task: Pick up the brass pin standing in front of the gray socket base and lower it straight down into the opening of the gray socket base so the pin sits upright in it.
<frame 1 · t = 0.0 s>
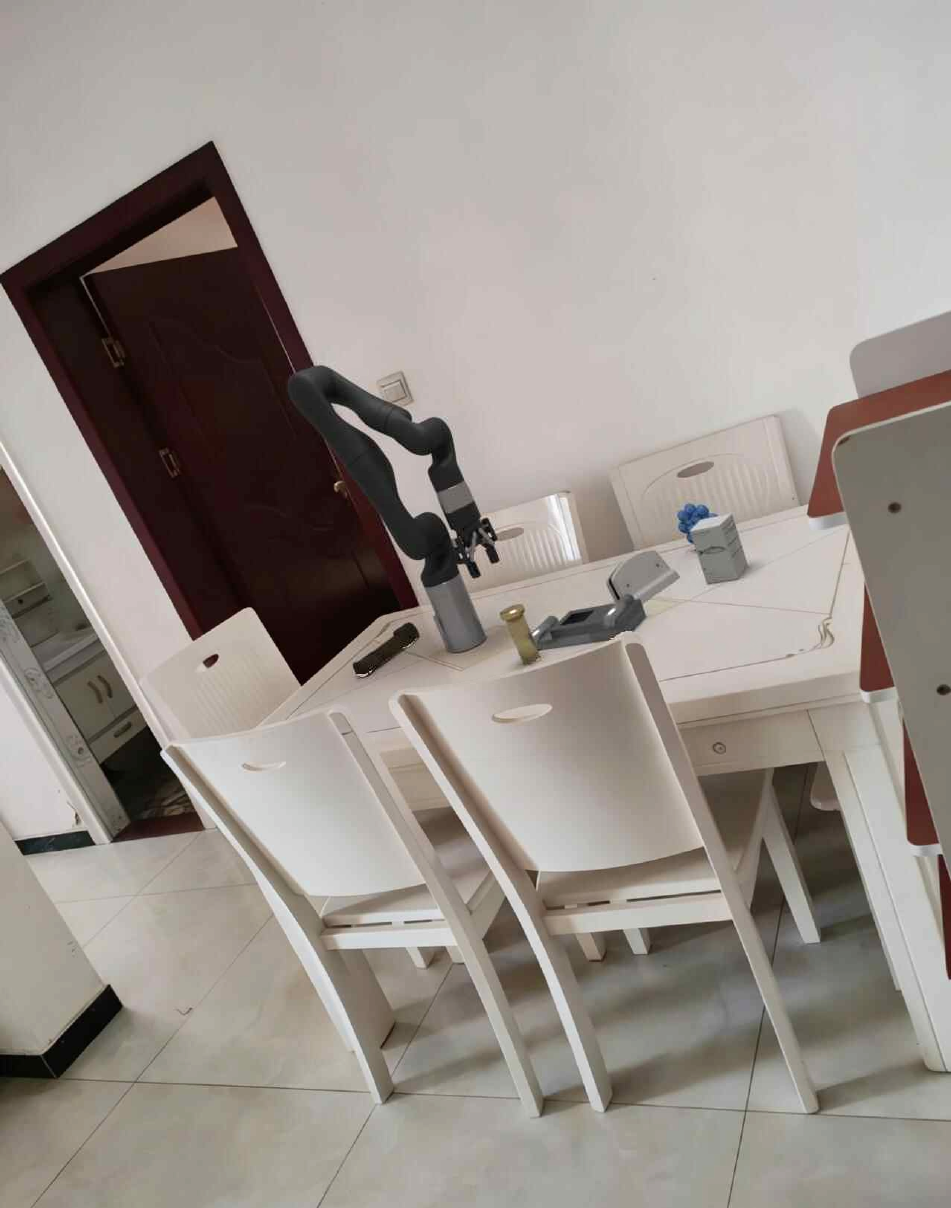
hand: (486, 570, 215), 17 cm above the table, fingers open, 8 cm apart
brass pin: (531, 660, 200), on the table
gray socket base: (583, 634, 203), on the table
supplement box: (728, 576, 203), on the table
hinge: (646, 594, 213), on the table
grapes: (706, 551, 225), on the table
hand tool: (391, 658, 244), on the table
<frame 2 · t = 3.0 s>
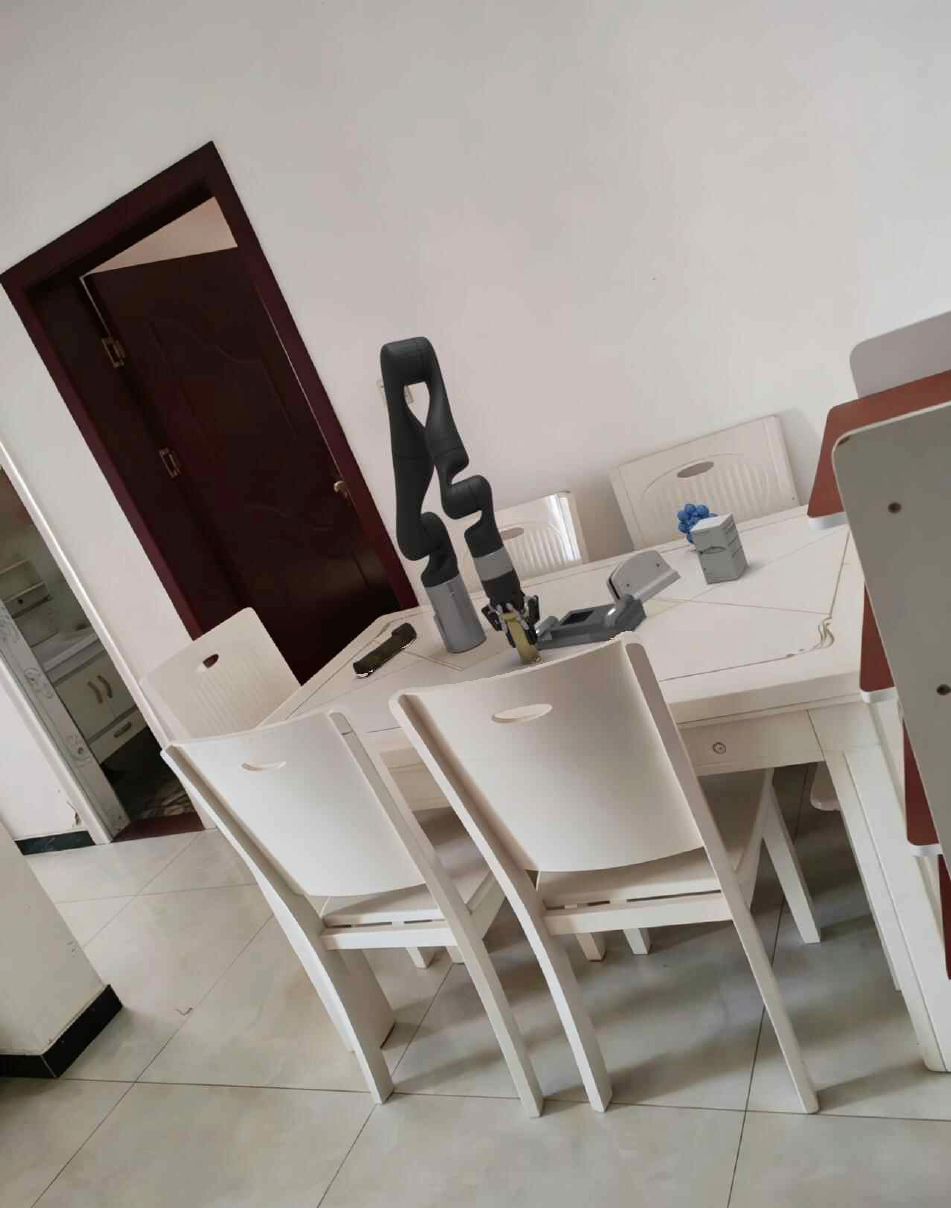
hand: (525, 644, 199), 4 cm above the table, fingers closed on brass pin, 4 cm apart
brass pin: (531, 660, 200), on the table, touching gripper
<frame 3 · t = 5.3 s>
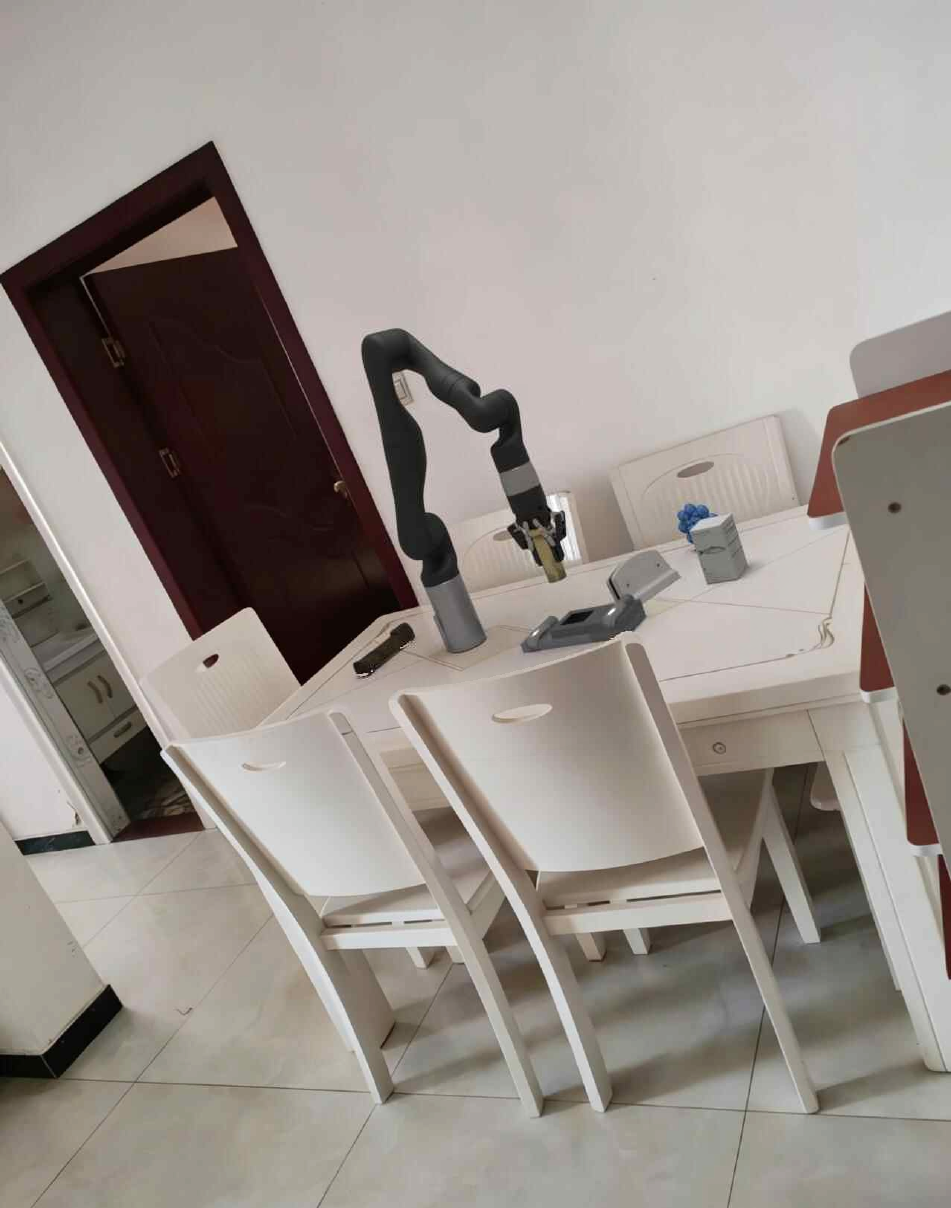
hand: (551, 562, 198), 17 cm above the table, fingers closed on brass pin, 4 cm apart
brass pin: (557, 579, 199), point 14 cm above the table, touching gripper
everything else where it was.
when the fingers open (5 cm above the table, at t = 7.7 s): brass pin drops 1 cm, resting in gray socket base.
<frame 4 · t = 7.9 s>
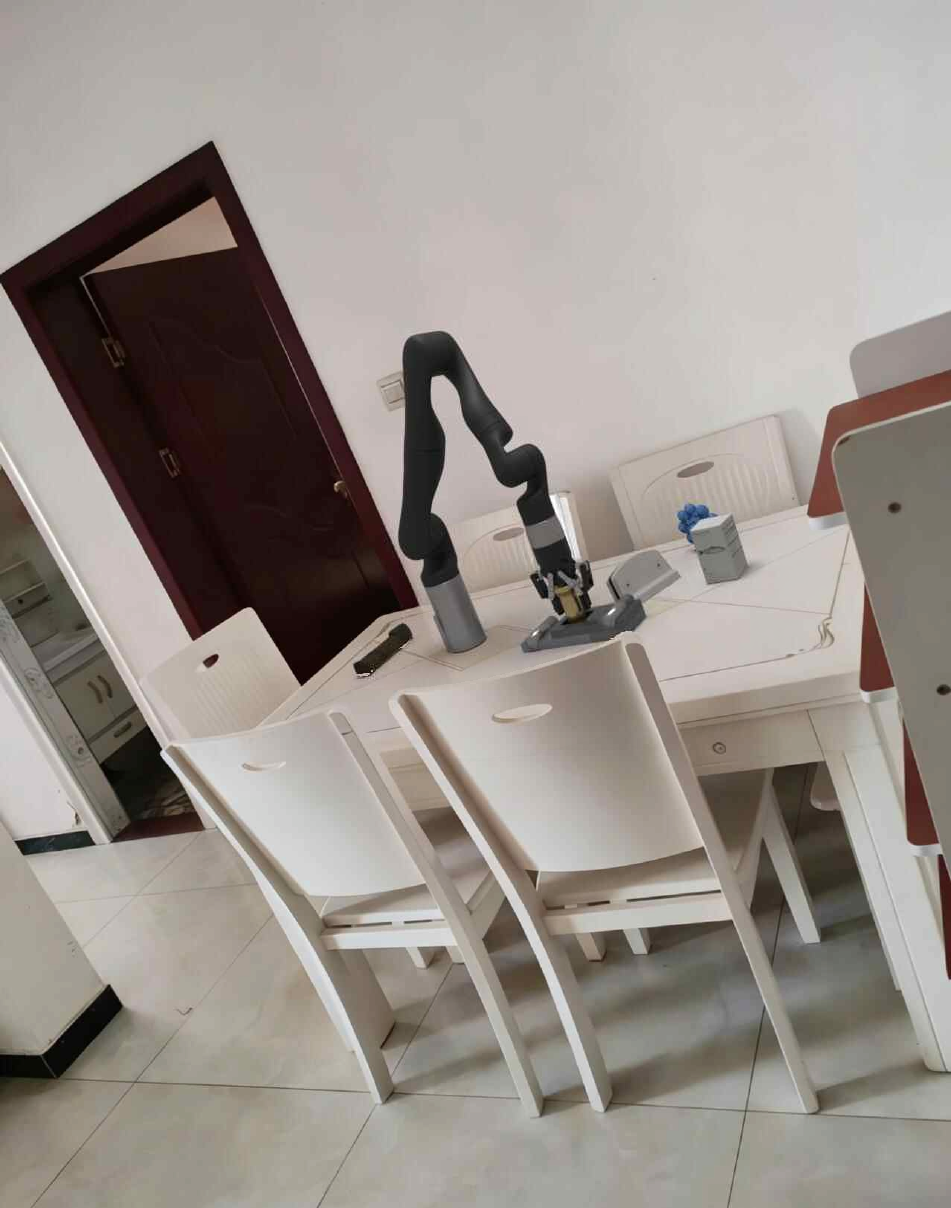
hand: (574, 611, 201), 6 cm above the table, fingers open, 6 cm apart
brass pin: (583, 634, 203), resting in gray socket base
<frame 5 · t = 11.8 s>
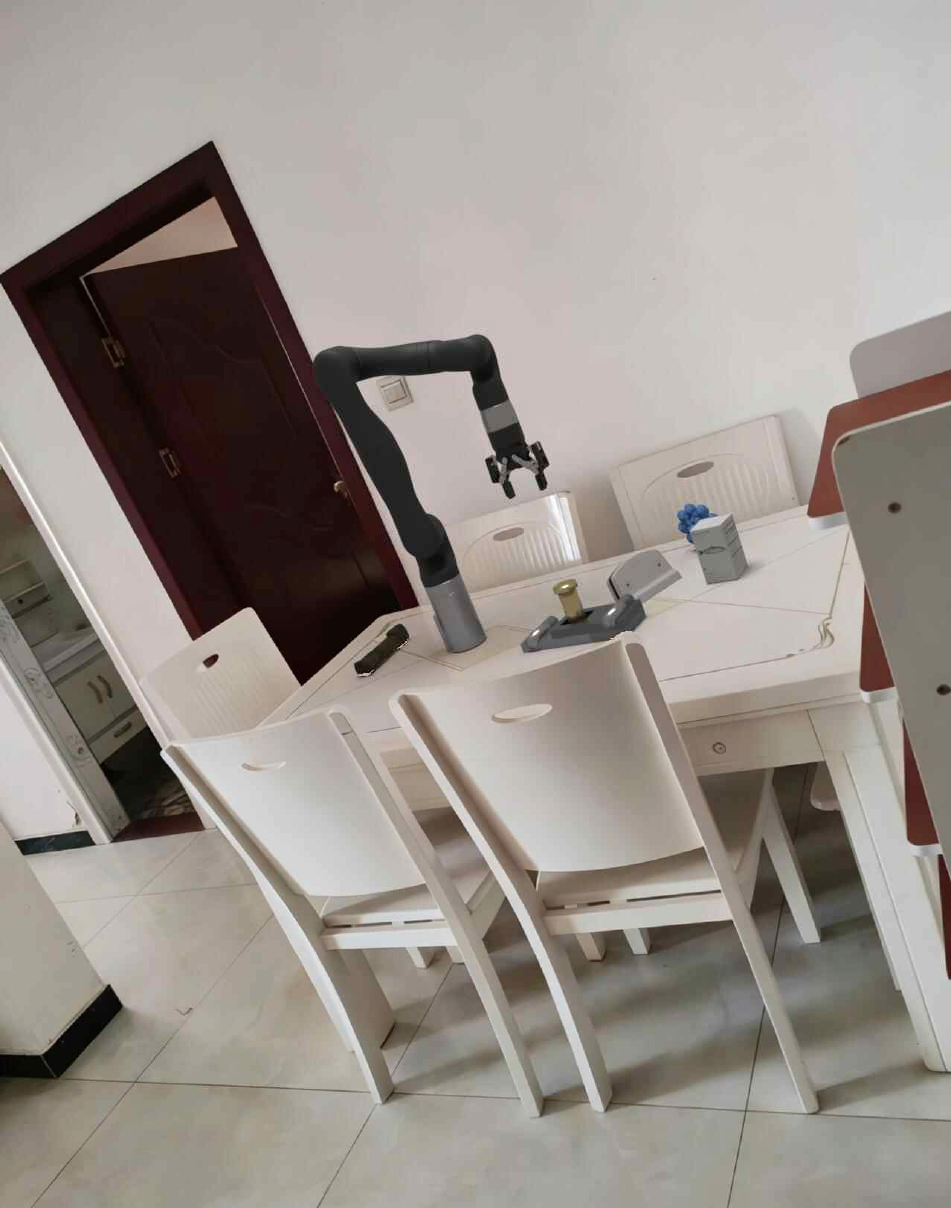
hand: (528, 493, 210), 30 cm above the table, fingers open, 8 cm apart
at the end: brass pin 0.1 cm off-centre on the gray socket base, point 0.0 cm above the gray socket base's base; brass pin tilted 0°; the gripper is holding nothing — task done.
